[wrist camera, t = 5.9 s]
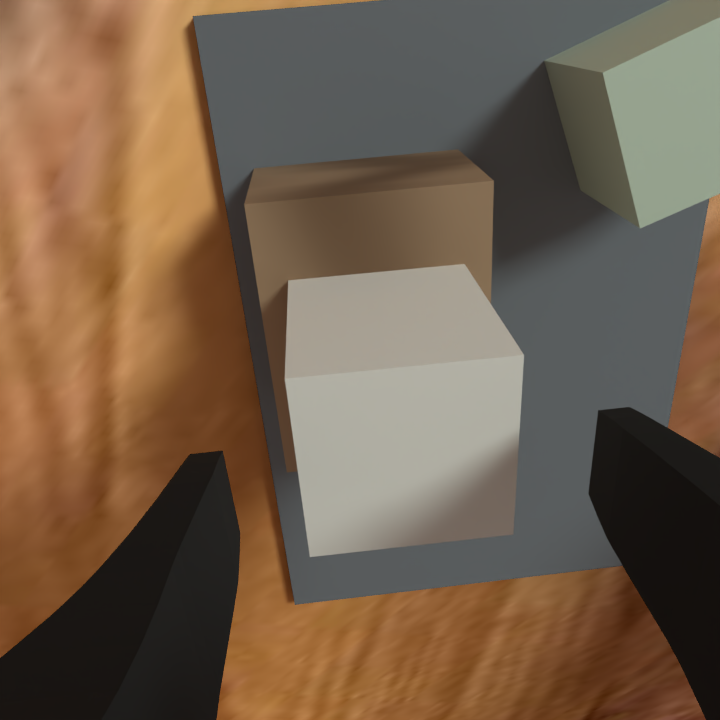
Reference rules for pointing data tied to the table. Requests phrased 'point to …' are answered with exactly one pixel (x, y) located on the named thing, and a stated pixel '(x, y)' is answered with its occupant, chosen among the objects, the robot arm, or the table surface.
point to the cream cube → (402, 409)
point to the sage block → (645, 110)
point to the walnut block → (361, 231)
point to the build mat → (509, 243)
